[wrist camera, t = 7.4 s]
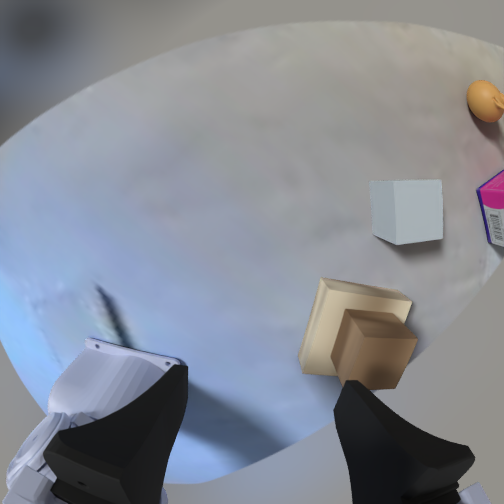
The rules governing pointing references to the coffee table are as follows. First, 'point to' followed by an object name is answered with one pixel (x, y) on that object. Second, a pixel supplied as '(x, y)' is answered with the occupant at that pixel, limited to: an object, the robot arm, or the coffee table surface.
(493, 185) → the supplement box
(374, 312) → the walnut cube
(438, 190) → the grey cube
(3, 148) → the coffee table surface
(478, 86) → the figurine
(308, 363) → the beech slab
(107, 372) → the robot arm
